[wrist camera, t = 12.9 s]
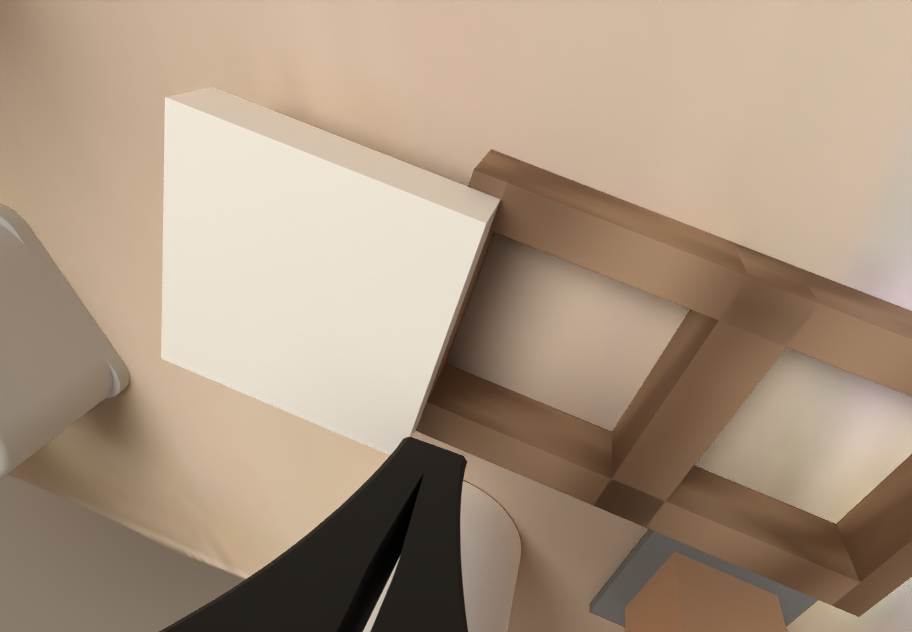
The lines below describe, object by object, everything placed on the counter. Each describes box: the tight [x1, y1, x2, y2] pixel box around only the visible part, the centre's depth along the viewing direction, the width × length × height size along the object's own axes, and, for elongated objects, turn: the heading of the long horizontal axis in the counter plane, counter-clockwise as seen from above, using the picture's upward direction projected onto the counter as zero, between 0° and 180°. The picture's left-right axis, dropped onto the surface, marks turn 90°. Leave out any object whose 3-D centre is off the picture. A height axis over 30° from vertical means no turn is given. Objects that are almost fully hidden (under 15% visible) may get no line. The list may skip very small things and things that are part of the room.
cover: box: [161, 87, 501, 455], centre depth 18 cm, size 9×9×2 cm
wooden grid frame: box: [415, 150, 912, 617], centre depth 19 cm, size 18×10×2 cm, turn 73°
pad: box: [590, 529, 818, 627], centre depth 25 cm, size 7×7×1 cm
